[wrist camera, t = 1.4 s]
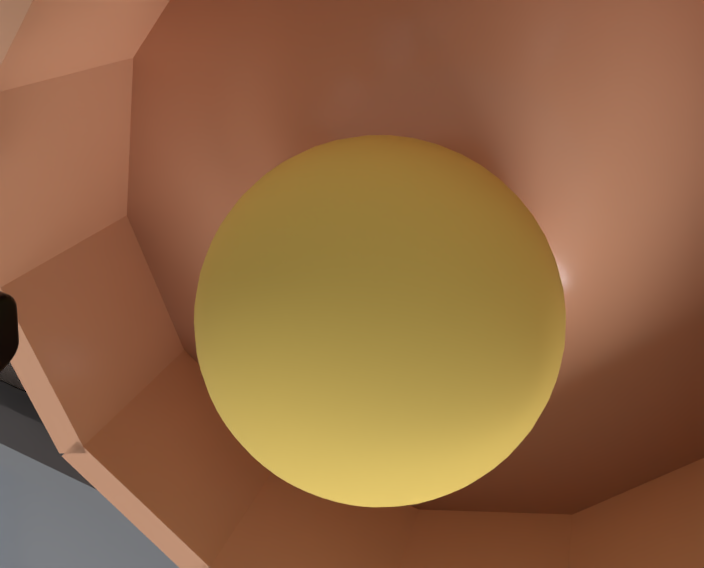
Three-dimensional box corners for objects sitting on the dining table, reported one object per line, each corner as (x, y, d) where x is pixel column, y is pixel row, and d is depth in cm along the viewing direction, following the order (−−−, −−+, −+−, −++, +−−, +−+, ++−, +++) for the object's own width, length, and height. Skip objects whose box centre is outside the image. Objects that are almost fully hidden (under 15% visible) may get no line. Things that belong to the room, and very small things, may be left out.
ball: (631, 159, 12) (638, 330, 7) (514, 411, 15) (458, 658, 10) (316, 58, 13) (117, 140, 8) (269, 313, 16) (106, 490, 11)
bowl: (1156, -80, 9) (1559, -88, 5) (637, 611, 17) (641, 805, 13) (128, -304, 12) (-108, -417, 8) (108, 376, 20) (-12, 480, 16)
